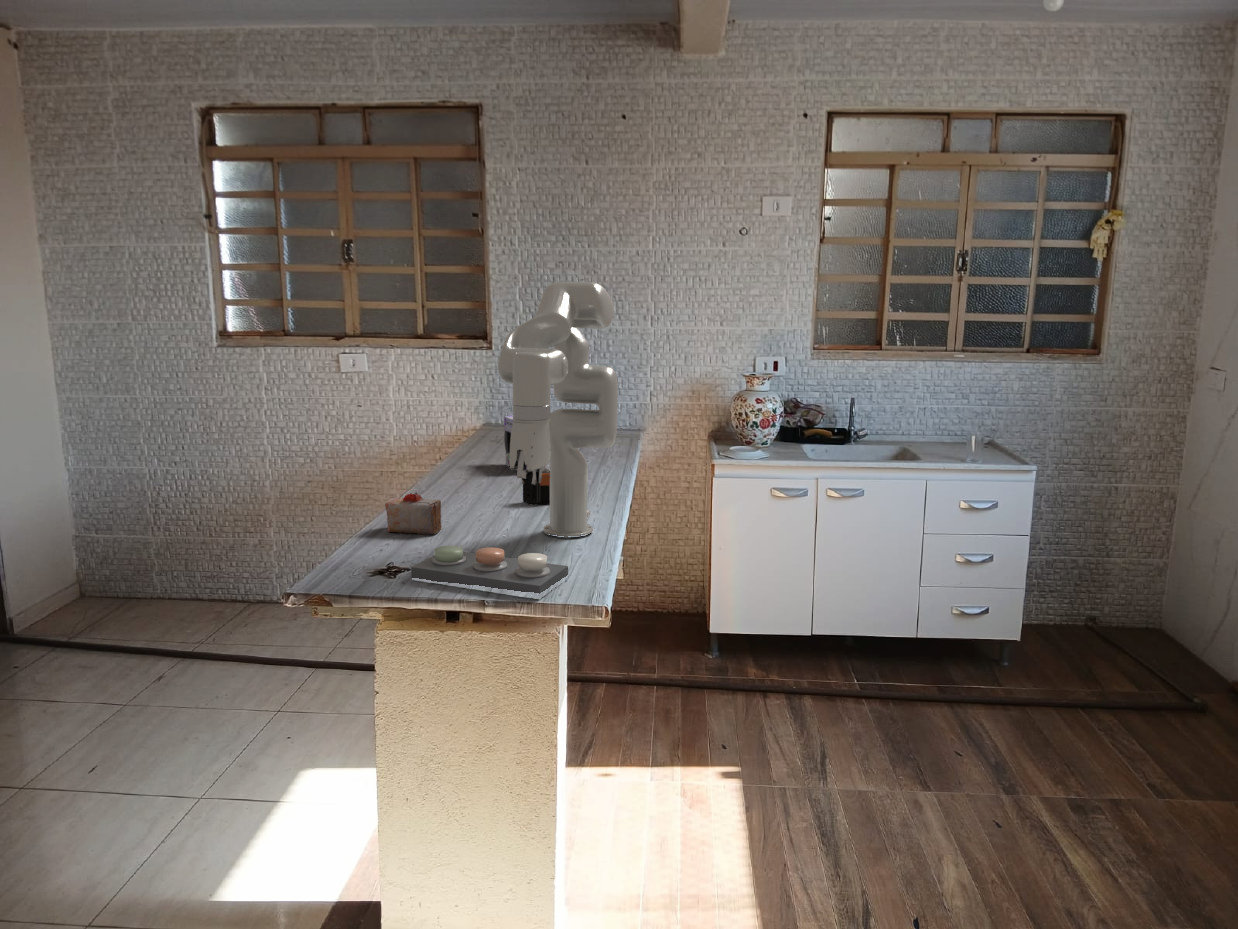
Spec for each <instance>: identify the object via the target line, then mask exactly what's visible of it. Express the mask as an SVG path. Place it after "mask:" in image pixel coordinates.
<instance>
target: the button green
mask: <svg viewBox="0 0 1238 929" xmlns="http://www.w3.org/2000/svg"><path fill="white" fill-rule="evenodd" d="M463 552H464V548H463V547H461V546H458V545H441V546H438V547H436V548H435V549H434V555H435V559H436V560H438V561H442V562H453V561H458V560H461V559H462V558H463Z"/></svg>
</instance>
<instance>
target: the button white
mask: <svg viewBox="0 0 1238 929" xmlns="http://www.w3.org/2000/svg"><path fill="white" fill-rule="evenodd" d="M517 559H518V567H519V568H521V569H524V570H540V569H544V568H546V567H547V563H548V556H547V555H545V554H543V553H539V552H538V553H537V552H527V553H523V554H520V555H519V556H518V557H517Z"/></svg>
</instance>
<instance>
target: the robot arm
mask: <svg viewBox="0 0 1238 929" xmlns="http://www.w3.org/2000/svg"><path fill="white" fill-rule="evenodd" d="M613 317H614V304H613V301H612V298H611V296H610V294H609V293H608V291H607V290H606V288H604V287H603V286H602V285H601V284H599V283H597V282H594V281H556V282H553V283H550V284H549V285H548V286H546V287H545V289H544V291H543V293H542V296H541V299H540V301H539V305H538V308H537V311H536V313H535V316H534V317H532V318H531V319H529V320H526V321H525V322H523V323H522V324H520V325H517V327H515V328H514V329H512V330H511V331H510V332H509V333H508V335H507V336H506V338H505V340H504V342H503V345H502V347H501V350H500V353H499V357H498V362H497V369H498V374H499V377H500V378H501V380H502V381H504V382H505V383H508V384H512V415H513V421H514V422H513V425H512V431H511V440H510V461H509V464H510V467H509V469H510V470H511V471H516V469H518V470H517V472H516V473H517V474H516V477H517V478H518V479H521V484H522V502H523V503H526V504H528V503H534V504H536V503H538V502H540V482H541V479H542V472H543V471H544V470H545V468H547V467H546V466H547V465H549V471H550V504H549V523H548V524H546V525H544V527H543V533H544V532H545V533H546V534H550V535H557V536H564V537H568V536H581V535H585V534H590V533H592V531H593V532H594V527H593V526H592V525H591V524H589V523H588V518H589V517H590V516H591V512H590V510H588V482H589V481H588V476H589V475H588V472H589V471H588V468H589V467H588V466H589V465H588V462H587V460H586V458H585V456H584V455H583V453H582V452H581V451H580V449H583V448H585V449H586V448H587V449H608V448H611V447H612V446H613V445H614V444H615V442H616V439H617V432H618V430H617V429H618V399H619V398H618V397H619V395H618V394H619V388H618V387H619V384H618V377H617V373H616V371H615V370H614V369H613V368H612V367H610V366H605V365H591V364H589V358H590V357H589V354H590V353H589V350H590V346H589V343H588V341H587V339H586V338H585V336H584V335H583V333H582V332H581V331H580V330H579V329H593V330H595V329H597V330H600V329H606V328H608V327H609V326H610V325H611V324H612V321H613ZM551 386H553V393H554V397H555V399H556V400H557V401H559V402H561V403H565V404H580V405H582V404H583V405H596V406H597V407H598V409H586V408H585V409H584V408H559V409H555V410H553V411H552V412H551ZM526 467H527V468H526ZM545 533H544V534H545ZM546 534H545V535H546ZM592 534H593V533H592ZM590 535H591V534H590Z"/></svg>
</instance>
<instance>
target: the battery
mask: <svg viewBox="0 0 1238 929" xmlns="http://www.w3.org/2000/svg"><path fill="white" fill-rule="evenodd" d="M527 504H528V505H530V504H533V505H535V504H534V503H527ZM536 504H541V505H550V468H547V467H546V468H545V470H544V471H543V472H542V479H541V482H540V502H538V503H536Z"/></svg>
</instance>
